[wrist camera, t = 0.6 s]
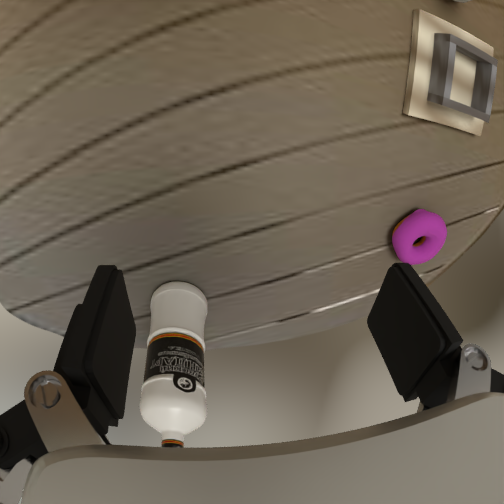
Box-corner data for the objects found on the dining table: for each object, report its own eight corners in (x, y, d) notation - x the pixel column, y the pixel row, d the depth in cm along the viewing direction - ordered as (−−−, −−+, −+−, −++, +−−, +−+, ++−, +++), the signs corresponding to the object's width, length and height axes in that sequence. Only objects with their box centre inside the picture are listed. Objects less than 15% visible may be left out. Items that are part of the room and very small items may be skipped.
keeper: (413, 9, 26) (435, 7, 22) (487, 47, 28) (508, 50, 24) (402, 112, 35) (423, 120, 31) (474, 133, 37) (494, 143, 33)
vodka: (142, 303, 49) (118, 480, 25) (170, 268, 46) (152, 470, 21) (187, 326, 53) (188, 493, 29) (218, 295, 50) (233, 482, 25)
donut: (380, 226, 46) (393, 241, 42) (428, 192, 43) (444, 205, 39) (399, 264, 51) (410, 280, 47) (441, 234, 48) (455, 248, 45)
